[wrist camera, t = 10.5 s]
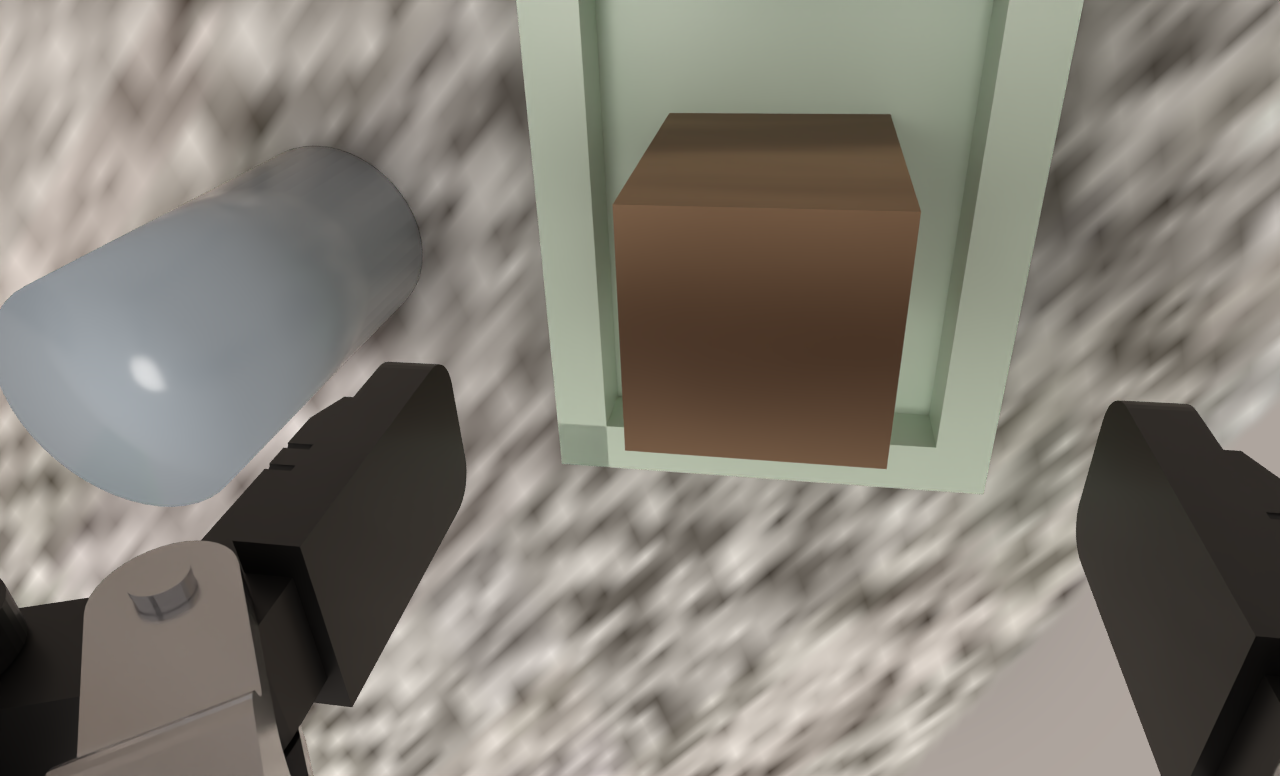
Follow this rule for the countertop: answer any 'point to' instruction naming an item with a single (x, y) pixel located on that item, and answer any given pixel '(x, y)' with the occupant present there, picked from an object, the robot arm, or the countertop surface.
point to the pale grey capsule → (208, 325)
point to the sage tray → (806, 84)
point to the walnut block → (765, 287)
